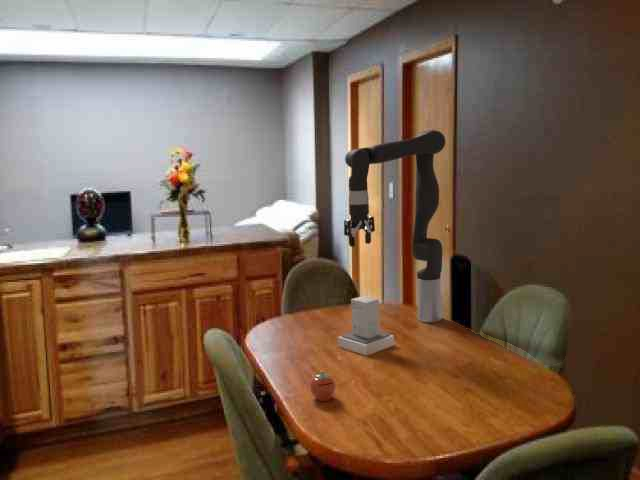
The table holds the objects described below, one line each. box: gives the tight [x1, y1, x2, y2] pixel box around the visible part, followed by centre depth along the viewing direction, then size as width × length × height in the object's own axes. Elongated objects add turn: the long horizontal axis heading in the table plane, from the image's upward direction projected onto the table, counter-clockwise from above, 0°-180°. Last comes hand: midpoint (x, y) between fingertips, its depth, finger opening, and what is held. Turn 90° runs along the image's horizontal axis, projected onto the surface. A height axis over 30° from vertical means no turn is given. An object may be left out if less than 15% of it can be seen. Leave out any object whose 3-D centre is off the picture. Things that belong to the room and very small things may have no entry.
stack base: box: [337, 331, 395, 356], centre depth 204 cm, size 14×14×4 cm
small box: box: [350, 295, 381, 339], centre depth 203 cm, size 8×6×13 cm
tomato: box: [309, 370, 337, 402], centre depth 161 cm, size 7×7×8 cm
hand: (360, 245), depth 220 cm, fingers open, 8 cm apart
